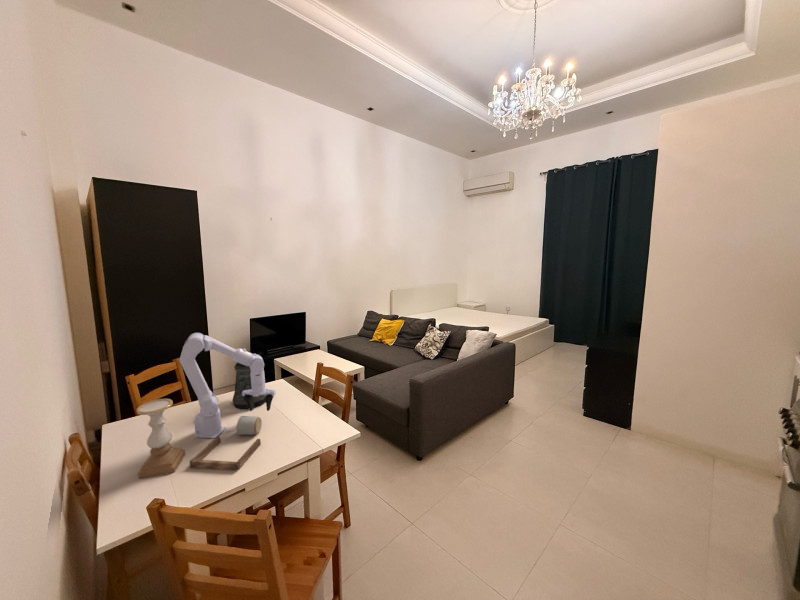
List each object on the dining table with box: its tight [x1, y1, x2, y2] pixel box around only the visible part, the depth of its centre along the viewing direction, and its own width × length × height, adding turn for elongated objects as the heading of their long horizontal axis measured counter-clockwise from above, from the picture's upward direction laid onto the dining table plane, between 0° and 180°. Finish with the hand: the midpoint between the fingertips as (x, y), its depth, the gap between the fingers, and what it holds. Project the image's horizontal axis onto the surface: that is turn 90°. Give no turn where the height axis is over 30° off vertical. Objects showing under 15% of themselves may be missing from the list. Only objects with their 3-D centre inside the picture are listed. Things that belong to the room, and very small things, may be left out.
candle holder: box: [136, 398, 186, 479], centre depth 112 cm, size 11×11×24 cm
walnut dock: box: [189, 436, 262, 471], centre depth 119 cm, size 18×15×2 cm
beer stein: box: [231, 362, 267, 411], centre depth 160 cm, size 16×19×25 cm
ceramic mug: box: [236, 415, 263, 436], centre depth 135 cm, size 11×8×8 cm
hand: (260, 409), depth 143 cm, fingers open, 7 cm apart
